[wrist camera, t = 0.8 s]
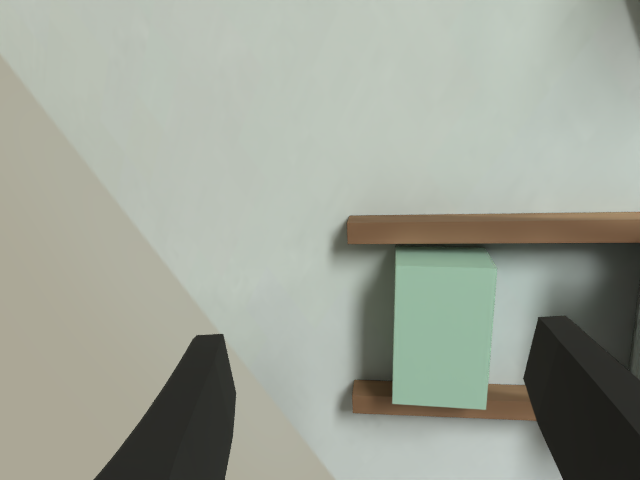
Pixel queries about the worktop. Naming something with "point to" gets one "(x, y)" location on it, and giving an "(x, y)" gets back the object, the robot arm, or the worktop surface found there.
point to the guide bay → (486, 229)
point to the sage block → (442, 326)
